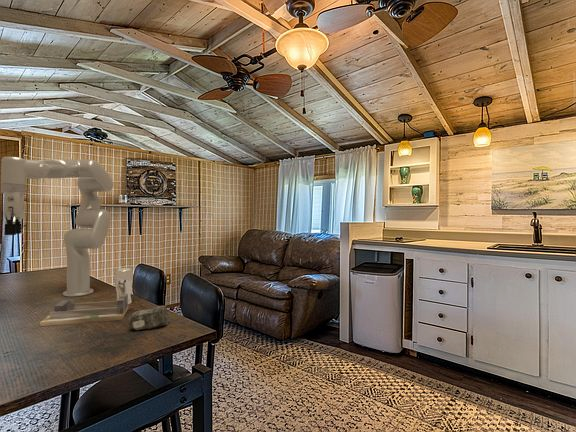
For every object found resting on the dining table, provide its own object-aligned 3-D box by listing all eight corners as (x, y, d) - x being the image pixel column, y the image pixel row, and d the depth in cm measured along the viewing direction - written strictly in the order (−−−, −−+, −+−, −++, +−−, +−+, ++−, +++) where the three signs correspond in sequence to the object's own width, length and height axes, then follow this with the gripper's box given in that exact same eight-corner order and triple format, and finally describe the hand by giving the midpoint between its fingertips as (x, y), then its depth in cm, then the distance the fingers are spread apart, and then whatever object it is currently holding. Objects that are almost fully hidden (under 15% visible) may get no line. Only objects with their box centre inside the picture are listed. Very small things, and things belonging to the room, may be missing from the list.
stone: (142, 345, 110) (127, 320, 108) (137, 342, 116) (122, 318, 114) (178, 319, 118) (164, 296, 117) (171, 317, 124) (158, 295, 122)
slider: (62, 310, 128) (62, 298, 128) (74, 309, 129) (74, 298, 129) (50, 320, 116) (50, 307, 116) (63, 319, 118) (63, 306, 117)
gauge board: (57, 312, 131) (57, 296, 131) (128, 307, 139) (128, 292, 138) (40, 326, 115) (40, 308, 115) (121, 319, 123) (121, 302, 123)
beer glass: (135, 303, 144) (135, 269, 144) (118, 306, 139) (118, 271, 139) (128, 300, 149) (128, 267, 149) (112, 303, 144) (112, 269, 144)
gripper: (21, 188, 120) (21, 235, 120) (30, 191, 135) (29, 233, 135) (-6, 187, 116) (-6, 235, 116) (6, 190, 131) (5, 233, 131)
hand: (13, 234), depth 125 cm, fingers open, 9 cm apart
